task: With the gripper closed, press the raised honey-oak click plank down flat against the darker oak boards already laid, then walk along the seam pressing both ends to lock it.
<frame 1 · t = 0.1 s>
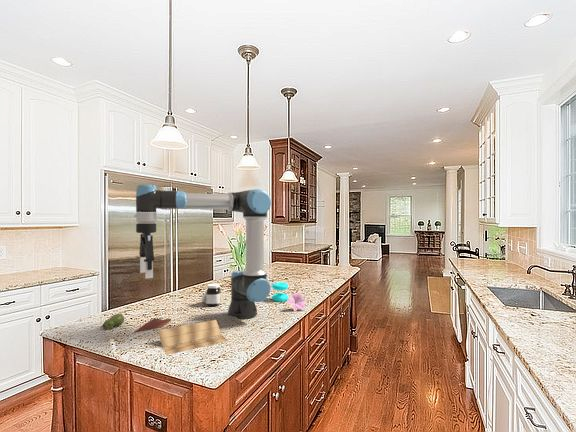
hand: (146, 275, 131), 28 cm above the counter, fingers open, 13 cm apart
pear: (113, 327, 151), on the counter
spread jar: (210, 304, 189), on the counter
wooden tablet: (149, 330, 148), on the counter
donuts: (280, 300, 199), on the counter
lily: (296, 310, 179), on the counter
laid boards: (196, 347, 128), on the counter
plank: (191, 333, 135), point 3 cm above the counter, hinge at 35.0°
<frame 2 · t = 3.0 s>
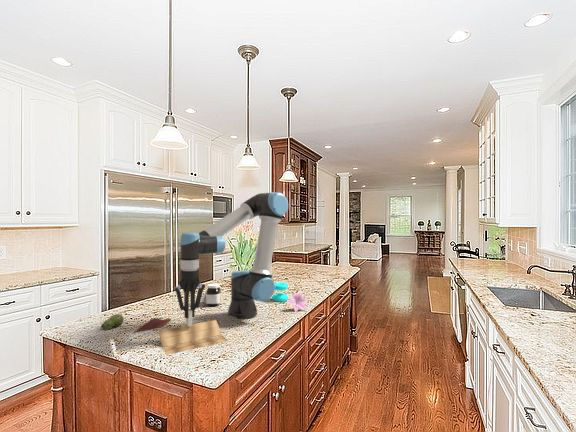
hand: (189, 325, 136), 6 cm above the counter, fingers closed
plank: (191, 333, 135), point 3 cm above the counter, hinge at 34.1°, touching gripper
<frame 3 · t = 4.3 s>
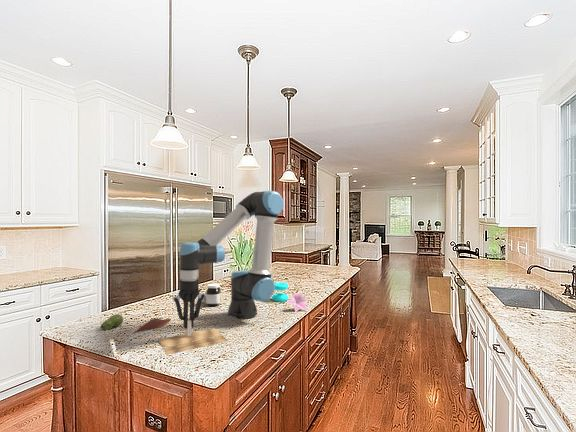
hand: (188, 335, 136), 2 cm above the counter, fingers closed
plank: (190, 338, 135), point 1 cm above the counter, hinge at 4.0°, touching gripper
everything else where it was.
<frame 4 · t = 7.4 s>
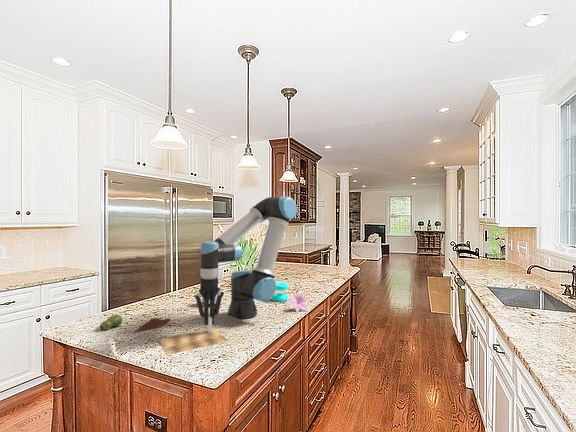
hand: (209, 331, 141), 2 cm above the counter, fingers closed
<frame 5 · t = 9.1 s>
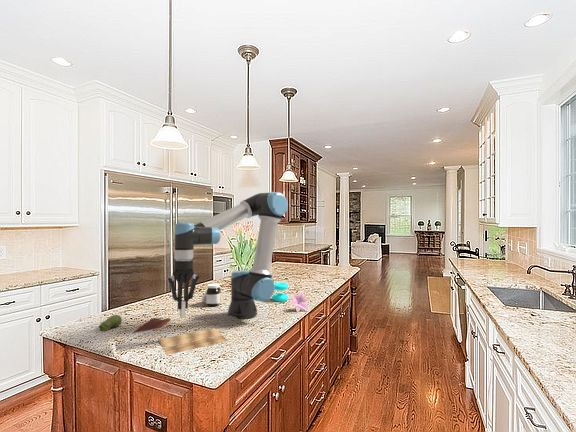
hand: (182, 316, 134), 10 cm above the counter, fingers closed
plank: (190, 338, 135), point 1 cm above the counter, hinge at 3.9°
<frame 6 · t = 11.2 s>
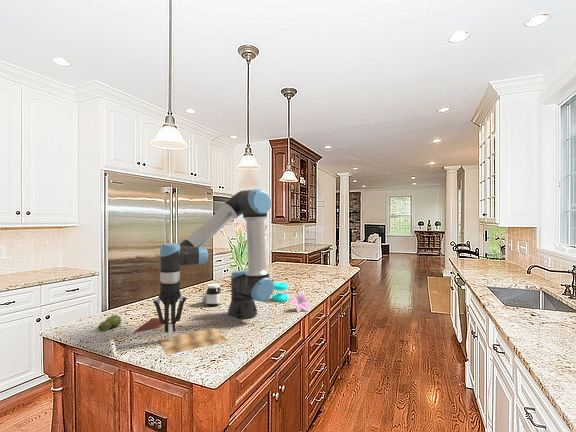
hand: (169, 339, 132), 2 cm above the counter, fingers closed
plank: (190, 338, 135), point 1 cm above the counter, hinge at 3.9°, touching gripper
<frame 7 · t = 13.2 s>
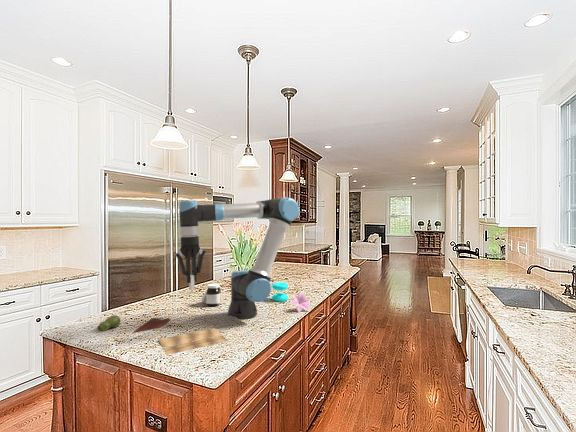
hand: (192, 289, 141), 20 cm above the counter, fingers closed
plank: (190, 338, 135), point 1 cm above the counter, hinge at 3.9°
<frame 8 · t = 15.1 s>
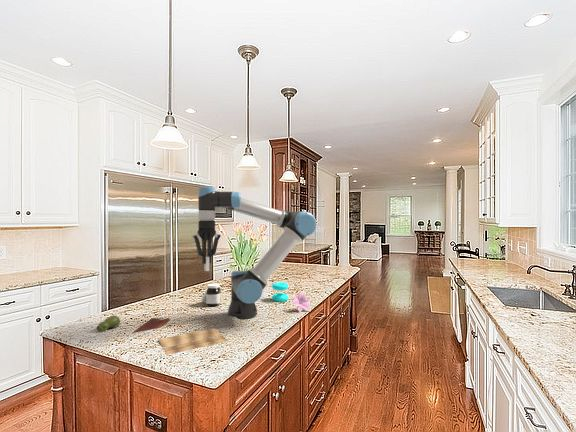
hand: (206, 270, 151), 26 cm above the counter, fingers closed
at the end: plank at +4° (first picture: +35°) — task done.
